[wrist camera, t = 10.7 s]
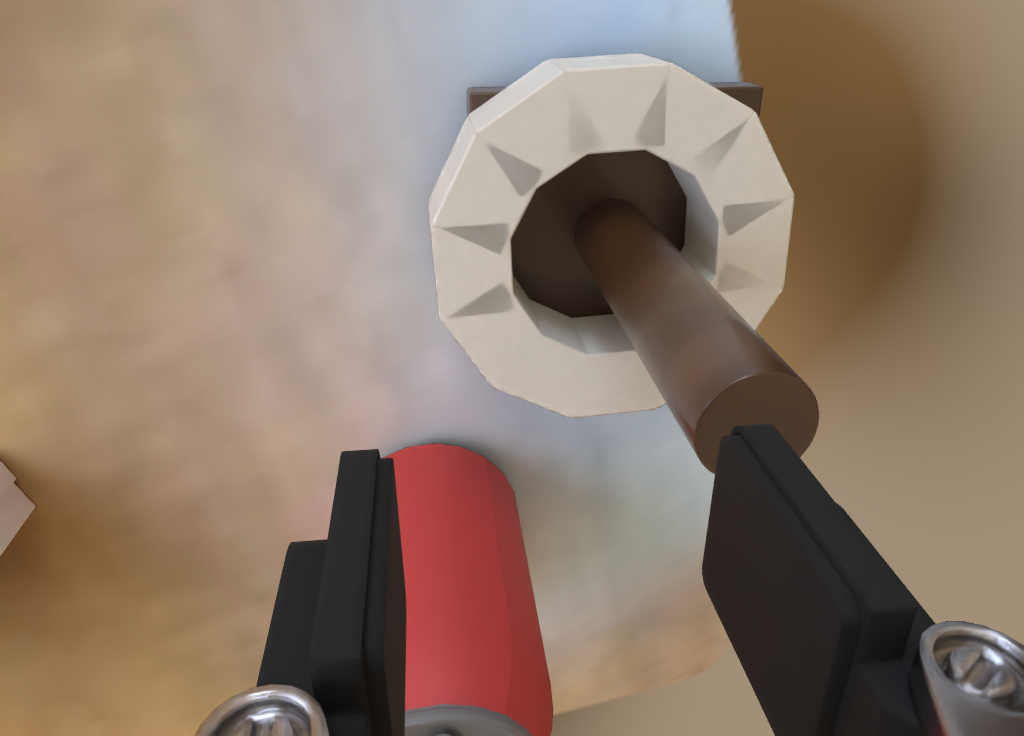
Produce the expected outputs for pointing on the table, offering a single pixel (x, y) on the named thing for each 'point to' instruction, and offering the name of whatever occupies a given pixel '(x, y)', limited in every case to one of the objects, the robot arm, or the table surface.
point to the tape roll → (553, 148)
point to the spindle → (655, 291)
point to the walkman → (11, 507)
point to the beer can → (467, 600)
